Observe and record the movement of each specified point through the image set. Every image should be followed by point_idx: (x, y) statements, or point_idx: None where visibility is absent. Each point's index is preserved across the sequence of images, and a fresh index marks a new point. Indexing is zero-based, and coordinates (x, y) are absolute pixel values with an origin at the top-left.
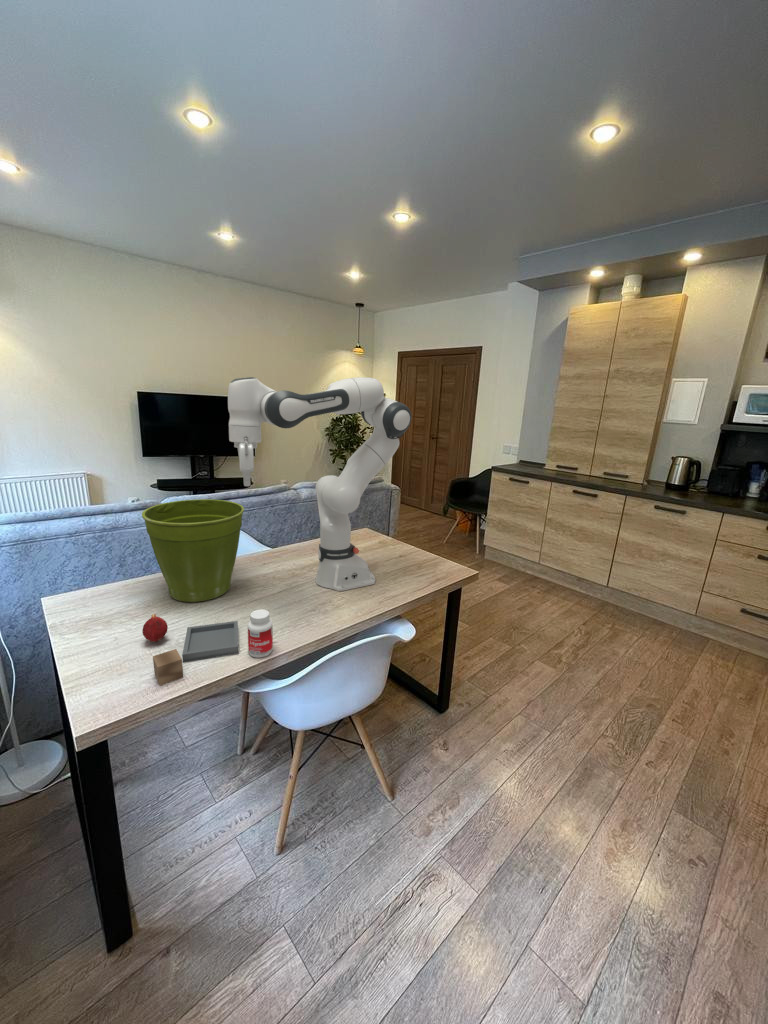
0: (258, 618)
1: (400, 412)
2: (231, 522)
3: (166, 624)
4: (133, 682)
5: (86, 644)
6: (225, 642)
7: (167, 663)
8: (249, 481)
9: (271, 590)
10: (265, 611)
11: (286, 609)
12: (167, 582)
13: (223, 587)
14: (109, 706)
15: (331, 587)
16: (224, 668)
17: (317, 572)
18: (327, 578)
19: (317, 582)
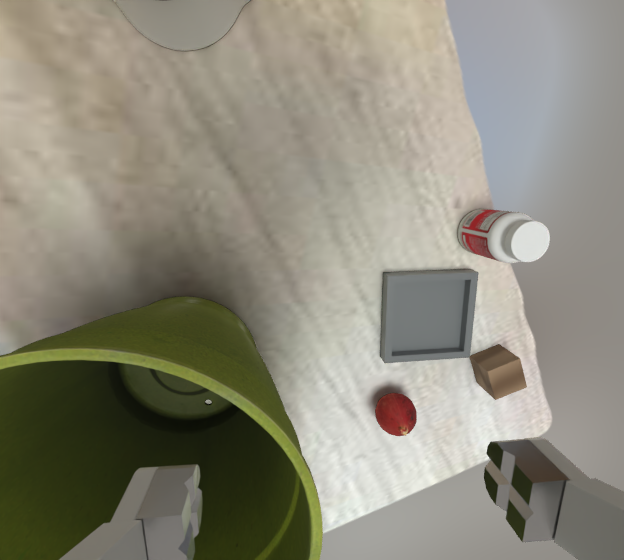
0: (548, 245)
1: None
2: (231, 383)
3: (398, 401)
4: (484, 403)
5: (365, 488)
6: (439, 292)
7: (522, 376)
8: (572, 473)
9: (219, 192)
10: (524, 228)
11: (332, 164)
12: (226, 440)
13: (228, 314)
14: (521, 416)
15: (241, 6)
16: (500, 289)
17: (165, 29)
18: (224, 5)
19: (199, 45)
